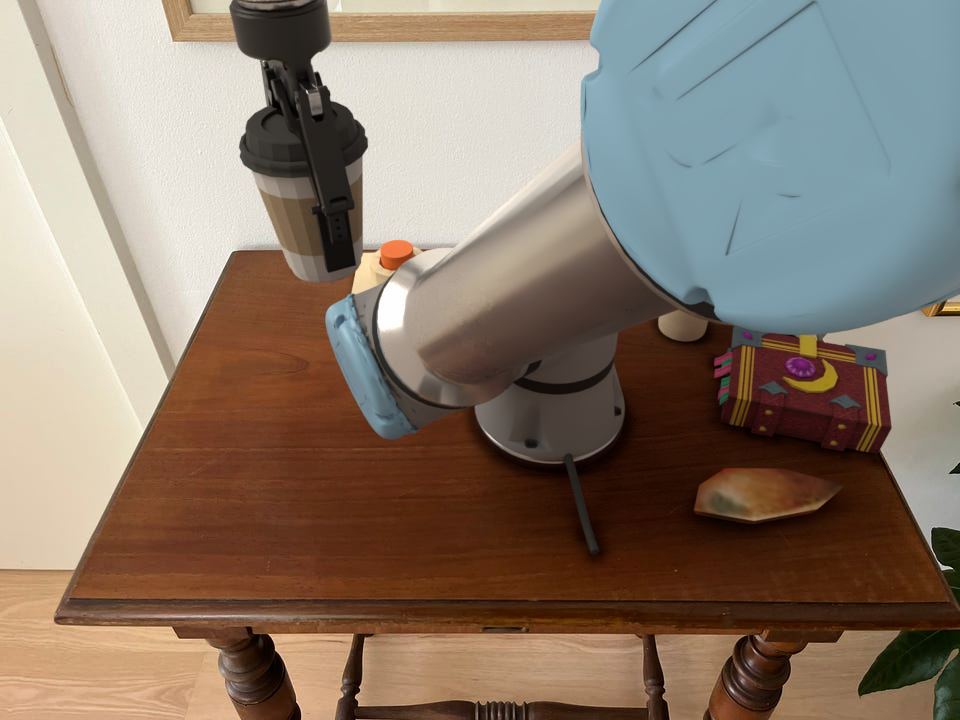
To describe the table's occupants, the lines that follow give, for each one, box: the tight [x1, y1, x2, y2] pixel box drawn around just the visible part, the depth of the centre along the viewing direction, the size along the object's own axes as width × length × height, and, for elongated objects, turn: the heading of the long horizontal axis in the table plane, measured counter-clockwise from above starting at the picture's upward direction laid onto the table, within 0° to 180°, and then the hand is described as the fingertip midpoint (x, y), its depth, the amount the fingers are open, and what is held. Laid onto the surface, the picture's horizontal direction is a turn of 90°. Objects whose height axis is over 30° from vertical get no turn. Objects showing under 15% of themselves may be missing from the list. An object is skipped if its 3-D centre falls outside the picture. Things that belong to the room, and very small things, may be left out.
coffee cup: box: [238, 100, 369, 284], centre depth 68 cm, size 11×11×15 cm
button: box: [379, 239, 414, 271], centre depth 89 cm, size 4×4×2 cm
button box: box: [351, 246, 424, 294], centre depth 91 cm, size 11×9×4 cm
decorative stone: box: [693, 467, 846, 525], centre depth 65 cm, size 14×6×3 cm, turn 84°
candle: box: [658, 310, 709, 342], centre depth 82 cm, size 6×6×10 cm
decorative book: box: [713, 325, 893, 455], centre depth 74 cm, size 11×16×5 cm
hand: (321, 236), depth 71 cm, fingers closed on coffee cup, 11 cm apart
